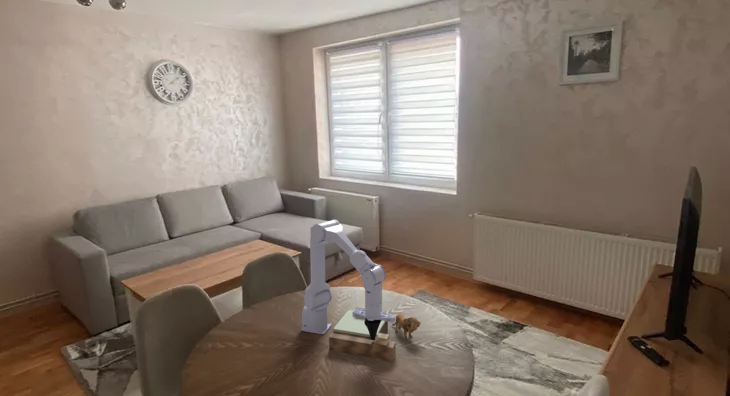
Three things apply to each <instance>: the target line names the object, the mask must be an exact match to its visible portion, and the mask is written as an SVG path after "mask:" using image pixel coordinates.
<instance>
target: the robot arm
mask: <svg viewBox="0 0 730 396" xmlns="http://www.w3.org/2000/svg"><path fill="white" fill-rule="evenodd" d="M309 242H310V243H309V245H310V246H309V247H310V248H309V249H310V250H309V251H310V252H309V254H310V255H309V257H310V258H309V259H310V284H308V286H307V287H306V288H305V290H304V291H305V293H304V296H303V303H304V307H303V308H302V312H301V325H302V326H301V329H300V330H301V331H303V332H308V333H314V334H318V335H325V334H326V333H327V331H328V330H329V329H330V328H331V326H332V323H328V321H329V319H328V317H329V315H328V307H329V306H330V302H331V301H332V298H333V296H332V293H331V286H330V285H329V284H328V283H327V282H326V243H335V244H336V245H337V246H338V247H339V248H340V249H342V251H343V252H345V254H346V255H348V257H349V263H350V264H351V265H352V266H353V267H354V268H355V269H356V270H357V271H358V273H359V274H360V279H361V281H362V283H363V289H364V308H365V310H355V309H356V308H355V309H353V310H354V311H353V312H352V313H353V317H362V318H365V321H364V323H365V325H366V327H367V329H368V331H369V334H370V338H371V340H375V337H376V335H377V331H378V328H379V325H380V323H381V321H388V323H391V324H395V322H396V315H395V314H390V313H389V312H388V313H387V312H385V311H383V282H384V281H385V279H386V277H387V272H386V270H385V268H384V267H383V266H382V265H381V264H377V263H376V262H374V261H372V260H371V258H370V257H369V256H368V255H367V253H366V252H365V251H363V250H362V249H361V250H360V249H357V247H356V246H355V245H354V244H353V243H352V241H351V240H350V239H349V238H348V236H347V235H346V233H345V232H344V227H343V225H342V224H341V223H340V221H339V220H337V219H330V220H328V221H324V222H320V223H315V224H313V225H312V226H311V227H310V238H309Z"/></svg>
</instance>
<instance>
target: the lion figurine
mask: <svg viewBox="0 0 730 396" xmlns="http://www.w3.org/2000/svg"><path fill="white" fill-rule="evenodd" d="M394 326H395V331H394V332H395V333H396V334H397V333H399V330H398V329H403V334H404V335H403V336H404V337H403V340H404V341H408V338H410V339H411V338H413V335H412V333H414V332H415V331H417V330H418V328H420V326H421V322H420V321H419V320H418V318H417V317H416V316H411V317H408V318H407V317H405V316H404V315H403V314H401V313H398V314H397V315H395V321H394V323H391V327H394Z"/></svg>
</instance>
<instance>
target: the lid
mask: <svg viewBox="0 0 730 396" xmlns="http://www.w3.org/2000/svg"><path fill="white" fill-rule="evenodd" d="M355 310H365V307H364V308H363V307H355ZM353 311H354V309H353V310H352V309H348V310H347V311H346V313H345V314H344V315H342V317H341V319H340V320H339V321H338V322H337V323H336V325H335V326H334V327H333V330H332V332H333V331H335V332H341V333H347V334H353V335H359V336H365V337H370V334H369V331H368V329H367V327H366V325H365V323H364V321H365V318H362V317H353V313H352V312H353ZM385 322H386V321H381V323H380V325H379V328H378V331H377V333H380V331H381V329H382V327H383V326H384V324H385Z"/></svg>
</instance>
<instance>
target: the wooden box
mask: <svg viewBox="0 0 730 396" xmlns="http://www.w3.org/2000/svg"><path fill="white" fill-rule="evenodd" d="M388 329H389V321H386V322H385V324H384V326H383V327H382V329H381V331H380V333H383V334H388V333H387V332H388V331H389V330H388ZM396 343H397V341H393V340H389V342H388V344H387V346H386V345H380V344H375V340H371V338H370V337H365V336H359V335H353V334H347V333H341V332H335V331H333V330H332V333H331V334H330V335H329V336H328V347H329V349H328V350H329V351H332V352H339V353H344V354H350V355H355V356H361V357H365V358H372V359H378V360H382V361H387V362H388V361H389V362H393V361H394V359H395V357H396V355H397V354H396V350H397V347H396V345H397V344H396Z"/></svg>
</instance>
